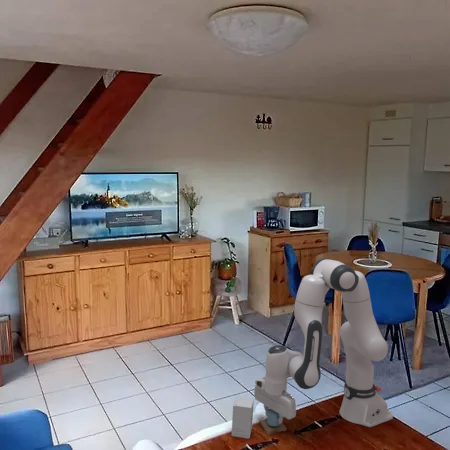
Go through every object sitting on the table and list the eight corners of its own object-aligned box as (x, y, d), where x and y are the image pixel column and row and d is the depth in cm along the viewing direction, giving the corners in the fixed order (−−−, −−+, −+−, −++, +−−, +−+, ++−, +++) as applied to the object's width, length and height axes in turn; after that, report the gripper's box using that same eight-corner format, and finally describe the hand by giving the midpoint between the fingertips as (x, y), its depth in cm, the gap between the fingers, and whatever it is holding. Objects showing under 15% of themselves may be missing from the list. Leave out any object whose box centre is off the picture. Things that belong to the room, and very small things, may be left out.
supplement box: (249, 439, 173) (251, 408, 171) (231, 436, 174) (232, 405, 172) (252, 428, 180) (254, 398, 178) (234, 425, 181) (235, 396, 180)
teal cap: (273, 417, 185) (273, 406, 184) (282, 423, 181) (282, 411, 180) (264, 421, 181) (265, 410, 181) (273, 427, 178) (274, 415, 177)
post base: (277, 420, 186) (278, 409, 186) (286, 430, 179) (287, 420, 178) (259, 423, 184) (260, 412, 183) (268, 434, 176) (268, 423, 176)
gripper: (300, 394, 173) (298, 428, 175) (263, 374, 189) (261, 405, 191) (289, 399, 169) (287, 433, 171) (252, 378, 185) (250, 410, 187)
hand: (273, 418), depth 181 cm, fingers closed on teal cap, 5 cm apart
